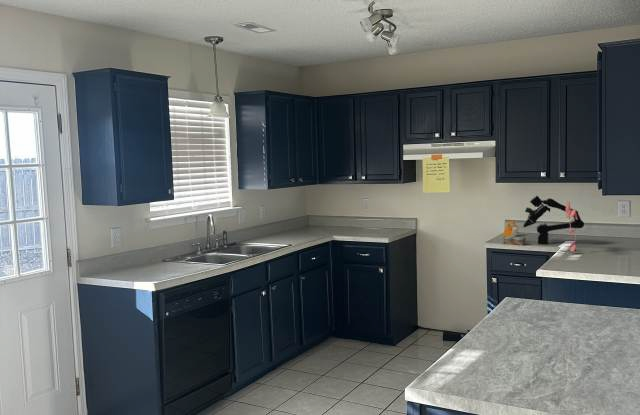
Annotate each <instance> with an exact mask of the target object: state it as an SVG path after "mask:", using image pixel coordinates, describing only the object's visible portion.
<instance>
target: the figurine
mask: <svg viewBox="0 0 640 415" xmlns="http://www.w3.org/2000/svg"><path fill="white" fill-rule="evenodd" d="M565 206H566V209H565V210H566V218H567V219H568V220H570V219H571V220H570V222H571V221H574V219H577V220H578V218H577V214H576V208H573V209H574V210H572V211H571V209H572V208H571V202H570V201H568V200H566V205H565ZM574 214H575V215H574ZM573 216H574V217H575V218H574V217H573ZM572 217H573V218H572ZM568 230H569V233H571V234H572V235H574V236H575V237H574V242H570V245H569V246H568V247H567V248H568V250H569V249H570V250H569V252H570V251H573V252H574V251H575V249H576V251H575V252H577V251H578V250H577V248H576V239H577V235H576V234H575V233H574V228H571V223H570V228H569V229H568Z"/></svg>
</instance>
